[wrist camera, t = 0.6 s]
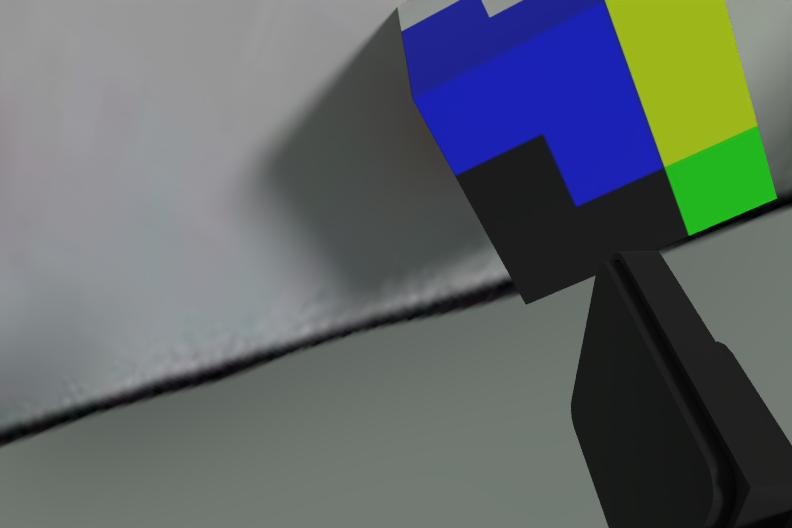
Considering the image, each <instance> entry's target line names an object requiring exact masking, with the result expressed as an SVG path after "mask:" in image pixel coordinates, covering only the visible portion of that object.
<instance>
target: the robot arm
mask: <svg viewBox="0 0 792 528" xmlns="http://www.w3.org/2000/svg"><path fill="white" fill-rule="evenodd" d="M571 415H572V421H573V425H574V429H575V431H576V434H577V437H578V440H579V443H580V446H581V449H582V452H583V455H584V457H585V460H586V463H587V466H588V469H589V472H590V475H591V478H592V481H593V483H594V486H595V489H596V492H597V495H598V498H599V500H600V504H601V506H602V509H603V512H604V515H605V518H606V521H607V524H608V526H609V528H792V445H791V444H790V442H789V440H788V439H787V437H786V436H785V434H784V433H783V431H782V430H781V428H780V427H779V425H778V423H777V422H776V420H775V419H774V417H773V416H772V414H771V413H770V411H769V409H768V408H767V406H766V405H765V403H764V402H763V400H762V399H761V397H760V395H759V394H758V392H757V391H756V389H755V388H754V386H753V385H752V383H751V381H750V380H749V378H748V377H747V375H746V374H745V372H744V370H743V369H742V368H741V366H740V364H739V363H738V361H737V360H736V358H735V357H734V355H733V353H732V352H731V351H730V350H729V349H728V348H727V346H726V345H724V344H722V343H720V342H715V340H714V338H713V337H712V335H711V334H710V332H709V331H708V329H707V327H706V326H705V324H704V323H703V321H702V319H701V318H700V316H699V314H698V313H697V311H696V310H695V308H694V306H693V305H692V303H691V302H690V300H689V299H688V297H687V296H686V294H685V292H684V291H683V289H682V287H681V286H680V284H679V283H678V281H677V279H676V278H675V276H674V275H673V273H672V271H671V270H670V268H669V267H668V265H667V264H666V262H665V261H664V259H663V257H662V256H661V255H660V253H659V252H657V251H625V252H615V253H614V254H613V255H612V257H611V259H610V262H607V263H601V264H599V266H598V268H597V272H596V277H595V282H594V287H593V292H592V297H591V303H590V308H589V314H588V318H587V323H586V328H585V333H584V339H583V344H582V349H581V354H580V359H579V364H578V370H577V374H576V380H575V385H574V390H573V396H572V401H571Z"/></svg>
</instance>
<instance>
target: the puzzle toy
mask: <svg viewBox="0 0 792 528" xmlns="http://www.w3.org/2000/svg"><path fill="white" fill-rule="evenodd" d="M398 14H399V20H400V26H401V32H402V38H403V44H404V50H405V56H406V62H407V69H408V75H409V81H410V87H411V93H412V98H413V100H414V102H415V104H416V106H417V108H418V109H419V111H420V113H421V115H422V117H423V118H424V120H425V122H426V124H427V126H428V128H429V129H430V131H431V133H432V135H433V137H434V138H435V140H436V142H437V144H438V146H439V148H440V149H441V151H442V153H443V155H444V157H445V158H446V160H447V162H448V164H449V166H450V168H451V169H452V171H453V173H454V175H455V177H456V178H457V180H458V182H459V184H460V186H461V188H462V189H463V191H464V193H465V195H466V197H467V198H468V200H469V202H470V204H471V206H472V208H473V209H474V211H475V213H476V215H477V217H478V218H479V220H480V222H481V224H482V226H483V228H484V229H485V231H486V233H487V235H488V237H489V238H490V240H491V242H492V244H493V246H494V248H495V249H496V251H497V253H498V255H499V257H500V258H501V260H502V262H503V264H504V266H505V268H506V269H507V271H508V273H509V275H510V277H511V278H512V280H513V282H514V284H515V286H516V288H517V289H518V291H519V293H520V295H521V297H522V298H523V300H524V302H525V304H529V303H531V302H534V301H536V300H538V299H541V298H543V297H545V296H548V295H550V294H553V293H555V292H557V291H559V290H562V289H564V288H567V287H569V286H571V285H574V284H576V283H579V282H581V281H583V280H586V279H588V278H590V277H593V276H595V275H596V272H597V268H598V266H599V264H601V263H607V262H610V259H611V257H612V255H613V254H614V253H615V252H625V251H654V250H656V249H659V248H661V247H664V246H666V245H668V244H671V243H673V242H675V241H678V240H680V239H682V238H685V237H687V236H689V235H692V234H694V233H697V232H699V231H701V230H704V229H706V228H708V227H711V226H713V225H715V224H718V223H720V222H722V221H725V220H727V219H730V218H732V217H734V216H737V215H739V214H741V213H744V212H746V211H748V210H751V209H753V208H756V207H758V206H760V205H763V204H765V203H767V202H770V201H772V200H774V199H777V196H776V193H775V189H774V185H773V181H772V178H771V174H770V170H769V166H768V162H767V159H766V155H765V151H764V147H763V143H762V140H761V136H760V132H759V128H758V124H757V121H756V117H755V113H754V109H753V105H752V102H751V98H750V94H749V90H748V87H747V83H746V79H745V75H744V71H743V68H742V64H741V60H740V56H739V52H738V49H737V45H736V41H735V37H734V33H733V30H732V26H731V22H730V18H729V14H728V11H727V7H726V3H725V0H409V1H407V2H406V3H404V4H402V5H400V6H398Z"/></svg>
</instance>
